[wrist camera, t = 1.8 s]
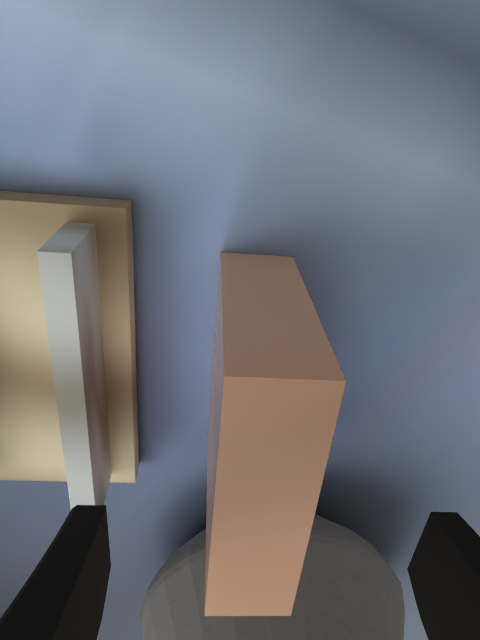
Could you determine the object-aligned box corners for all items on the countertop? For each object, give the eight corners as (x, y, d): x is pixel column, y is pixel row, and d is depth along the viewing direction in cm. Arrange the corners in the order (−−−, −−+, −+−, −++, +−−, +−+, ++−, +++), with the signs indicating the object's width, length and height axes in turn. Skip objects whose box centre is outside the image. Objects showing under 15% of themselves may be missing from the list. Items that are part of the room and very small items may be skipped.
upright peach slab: (266, 438, 19) (290, 615, 13) (207, 437, 19) (204, 616, 13) (292, 256, 15) (345, 381, 9) (220, 251, 15) (224, 376, 9)
